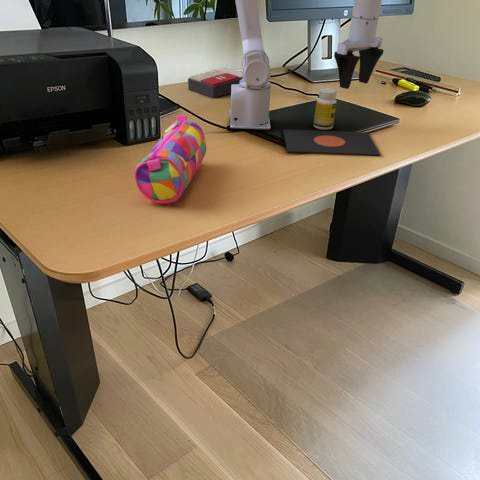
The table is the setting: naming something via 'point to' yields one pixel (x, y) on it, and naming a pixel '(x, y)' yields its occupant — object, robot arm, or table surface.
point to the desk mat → (329, 142)
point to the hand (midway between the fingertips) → (353, 85)
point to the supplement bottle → (325, 109)
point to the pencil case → (171, 162)
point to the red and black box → (215, 82)
